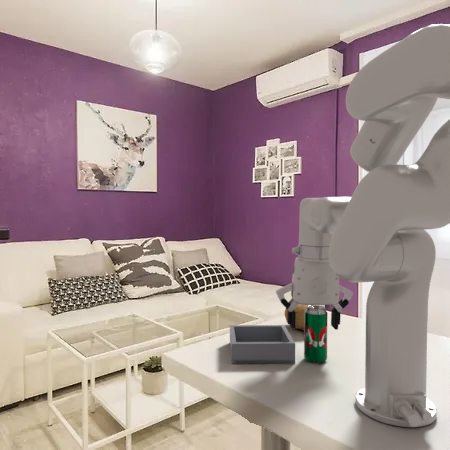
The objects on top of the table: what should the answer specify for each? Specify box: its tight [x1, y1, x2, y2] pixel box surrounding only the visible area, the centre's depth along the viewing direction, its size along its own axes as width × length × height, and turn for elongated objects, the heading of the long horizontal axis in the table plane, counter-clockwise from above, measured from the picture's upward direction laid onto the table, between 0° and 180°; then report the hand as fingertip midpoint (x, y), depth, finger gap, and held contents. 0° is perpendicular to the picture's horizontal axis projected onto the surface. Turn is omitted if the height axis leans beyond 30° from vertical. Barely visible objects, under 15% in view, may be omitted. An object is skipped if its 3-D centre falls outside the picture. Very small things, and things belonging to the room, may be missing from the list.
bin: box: [229, 324, 296, 365], centre depth 93 cm, size 14×14×4 cm
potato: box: [284, 304, 310, 331], centre depth 112 cm, size 10×14×8 cm
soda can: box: [303, 305, 328, 364], centre depth 88 cm, size 5×5×12 cm
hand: (313, 327), depth 89 cm, fingers open, 9 cm apart
